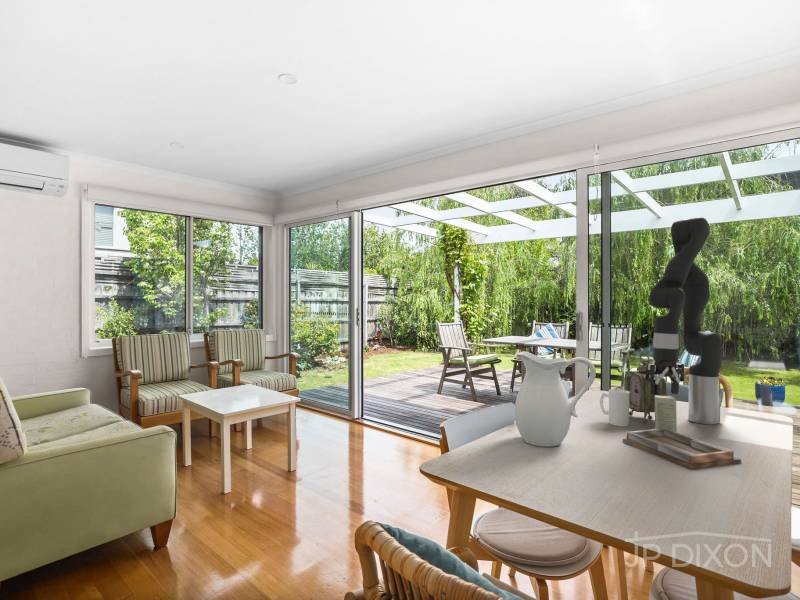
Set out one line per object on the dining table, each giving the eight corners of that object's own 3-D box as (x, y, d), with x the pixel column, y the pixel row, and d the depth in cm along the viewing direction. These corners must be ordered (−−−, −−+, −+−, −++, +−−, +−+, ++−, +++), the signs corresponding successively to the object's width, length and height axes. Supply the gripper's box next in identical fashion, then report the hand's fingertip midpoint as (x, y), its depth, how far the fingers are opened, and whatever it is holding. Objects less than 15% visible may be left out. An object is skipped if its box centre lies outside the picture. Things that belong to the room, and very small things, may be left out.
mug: (631, 424, 164) (632, 391, 163) (625, 428, 159) (626, 393, 159) (603, 418, 170) (603, 387, 170) (596, 422, 166) (596, 389, 166)
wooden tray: (667, 436, 149) (667, 427, 149) (741, 462, 126) (741, 452, 126) (622, 441, 144) (622, 432, 144) (691, 469, 121) (691, 458, 121)
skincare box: (675, 432, 154) (675, 396, 154) (677, 435, 150) (677, 398, 150) (653, 429, 157) (654, 394, 157) (654, 433, 153) (655, 397, 153)
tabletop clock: (623, 414, 177) (624, 350, 177) (647, 414, 177) (648, 350, 177) (641, 424, 163) (642, 355, 163) (667, 425, 163) (668, 355, 162)
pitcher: (509, 445, 139) (510, 355, 139) (519, 430, 155) (520, 349, 154) (593, 457, 129) (594, 360, 129) (596, 440, 144) (596, 353, 144)
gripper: (672, 345, 159) (671, 391, 159) (640, 345, 155) (638, 392, 155) (692, 347, 152) (690, 395, 152) (658, 348, 148) (657, 397, 148)
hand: (664, 394), depth 154 cm, fingers open, 8 cm apart
